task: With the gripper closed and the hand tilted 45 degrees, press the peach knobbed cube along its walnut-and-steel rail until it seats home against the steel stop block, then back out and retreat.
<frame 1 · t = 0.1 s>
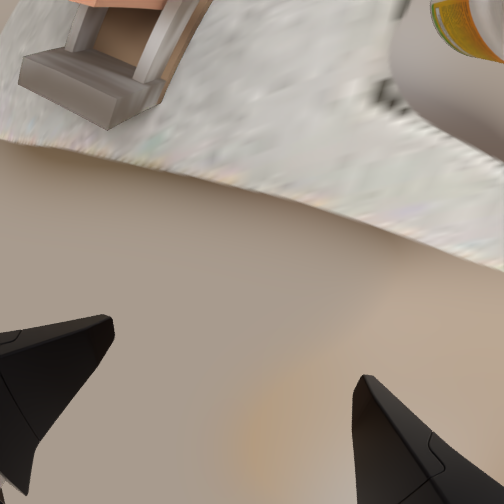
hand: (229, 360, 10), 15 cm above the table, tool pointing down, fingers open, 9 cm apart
supplement bottle: (463, 19, 12), on the table
rail: (149, 5, 16), on the table
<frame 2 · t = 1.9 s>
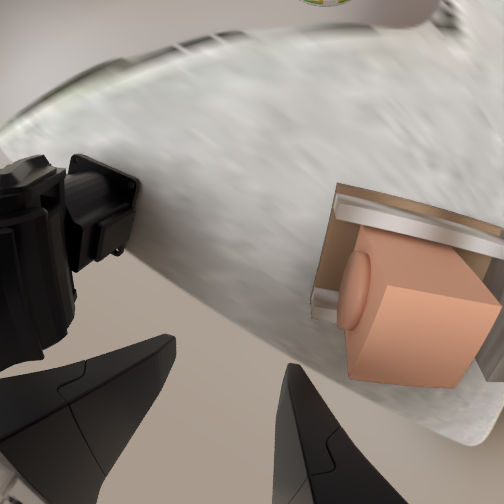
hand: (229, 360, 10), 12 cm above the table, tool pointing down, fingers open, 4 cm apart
rail: (430, 267, 20), on the table
peach knobbed cube: (405, 300, 15), point 6 cm above the table, slide at 0.0 cm
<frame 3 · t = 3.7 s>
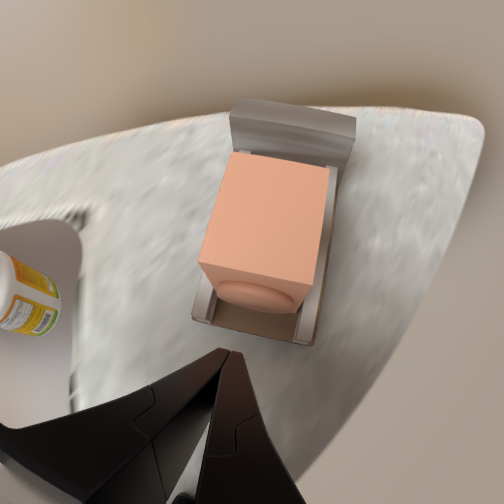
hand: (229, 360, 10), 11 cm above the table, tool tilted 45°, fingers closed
supplement bottle: (41, 307, 23), on the table
rail: (275, 229, 24), on the table
peach knobbed cube: (266, 246, 18), point 6 cm above the table, slide at 0.0 cm
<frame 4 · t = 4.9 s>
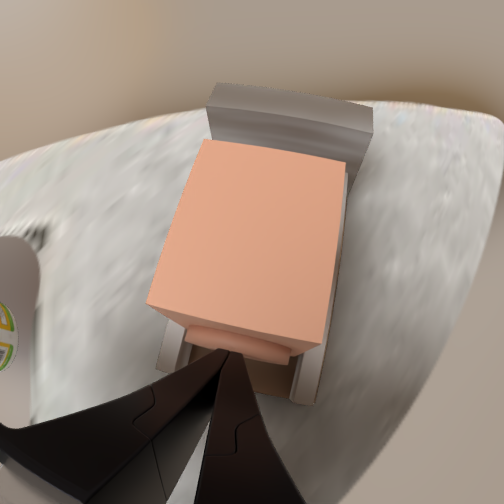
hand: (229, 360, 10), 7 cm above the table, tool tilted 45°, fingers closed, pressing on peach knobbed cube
rail: (268, 252, 19), on the table
peach knobbed cube: (255, 273, 13), point 6 cm above the table, slide at 0.5 cm, touching gripper
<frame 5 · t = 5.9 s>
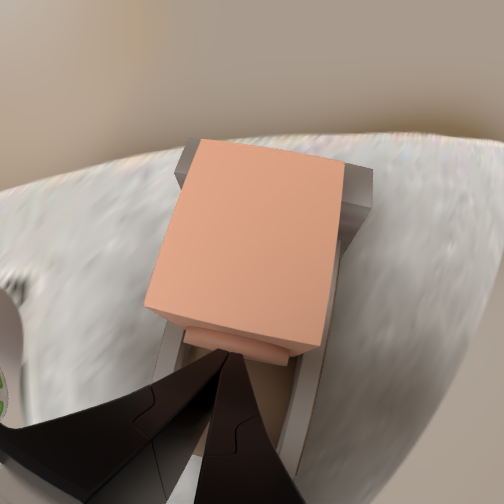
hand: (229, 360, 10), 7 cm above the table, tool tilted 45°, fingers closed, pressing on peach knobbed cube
rail: (251, 323, 18), on the table
peach knobbed cube: (253, 273, 13), point 6 cm above the table, slide at 4.8 cm, touching gripper, rail
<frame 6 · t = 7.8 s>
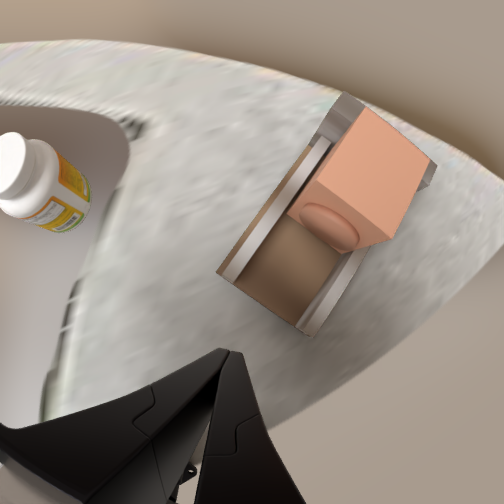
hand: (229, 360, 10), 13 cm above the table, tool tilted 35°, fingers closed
supplement bottle: (66, 202, 23), on the table
rail: (319, 219, 25), on the table
peach knobbed cube: (352, 191, 20), point 6 cm above the table, slide at 4.5 cm
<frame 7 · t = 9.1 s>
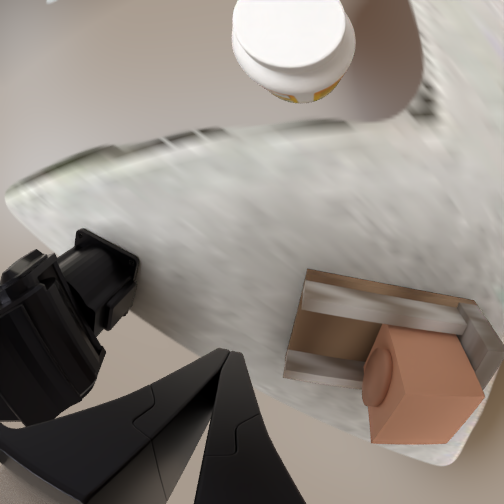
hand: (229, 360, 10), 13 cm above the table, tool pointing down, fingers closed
supplement bottle: (299, 64, 18), on the table
rail: (390, 332, 24), on the table
peach knobbed cube: (414, 381, 18), point 6 cm above the table, slide at 4.5 cm
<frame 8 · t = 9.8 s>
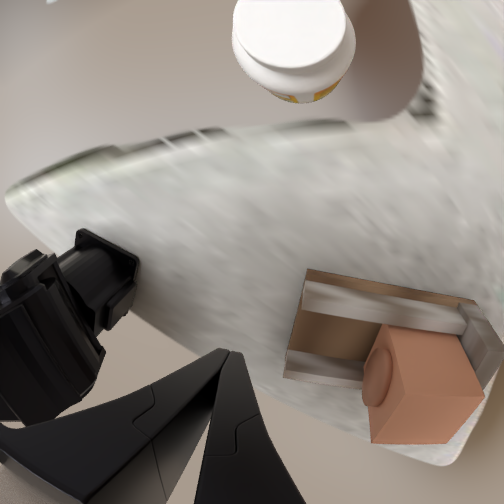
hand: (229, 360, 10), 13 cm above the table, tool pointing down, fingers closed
supplement bottle: (299, 64, 18), on the table
rail: (390, 332, 24), on the table
peach knobbed cube: (414, 381, 18), point 6 cm above the table, slide at 4.5 cm
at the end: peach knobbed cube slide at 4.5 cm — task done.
